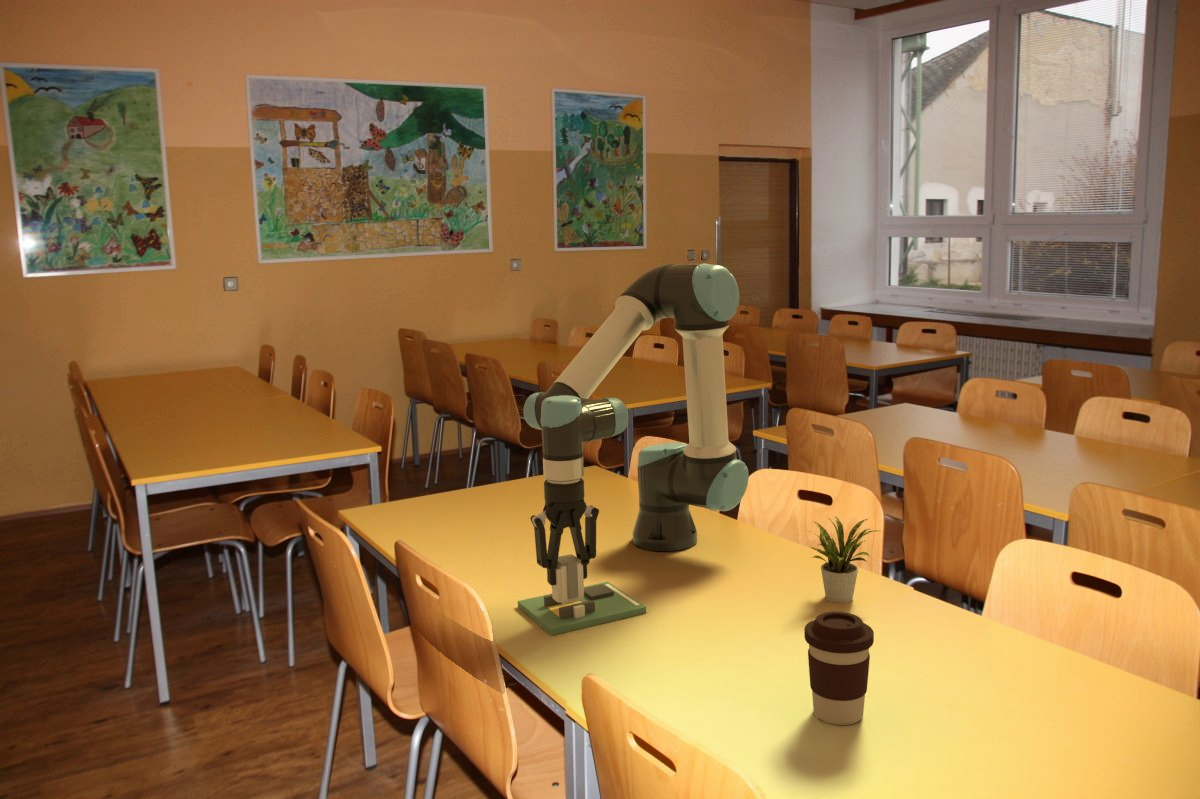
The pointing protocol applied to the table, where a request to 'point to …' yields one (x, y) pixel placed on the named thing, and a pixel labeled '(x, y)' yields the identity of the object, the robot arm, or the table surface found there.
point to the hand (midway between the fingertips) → (568, 597)
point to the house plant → (840, 562)
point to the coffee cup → (838, 665)
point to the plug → (570, 578)
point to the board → (582, 609)
